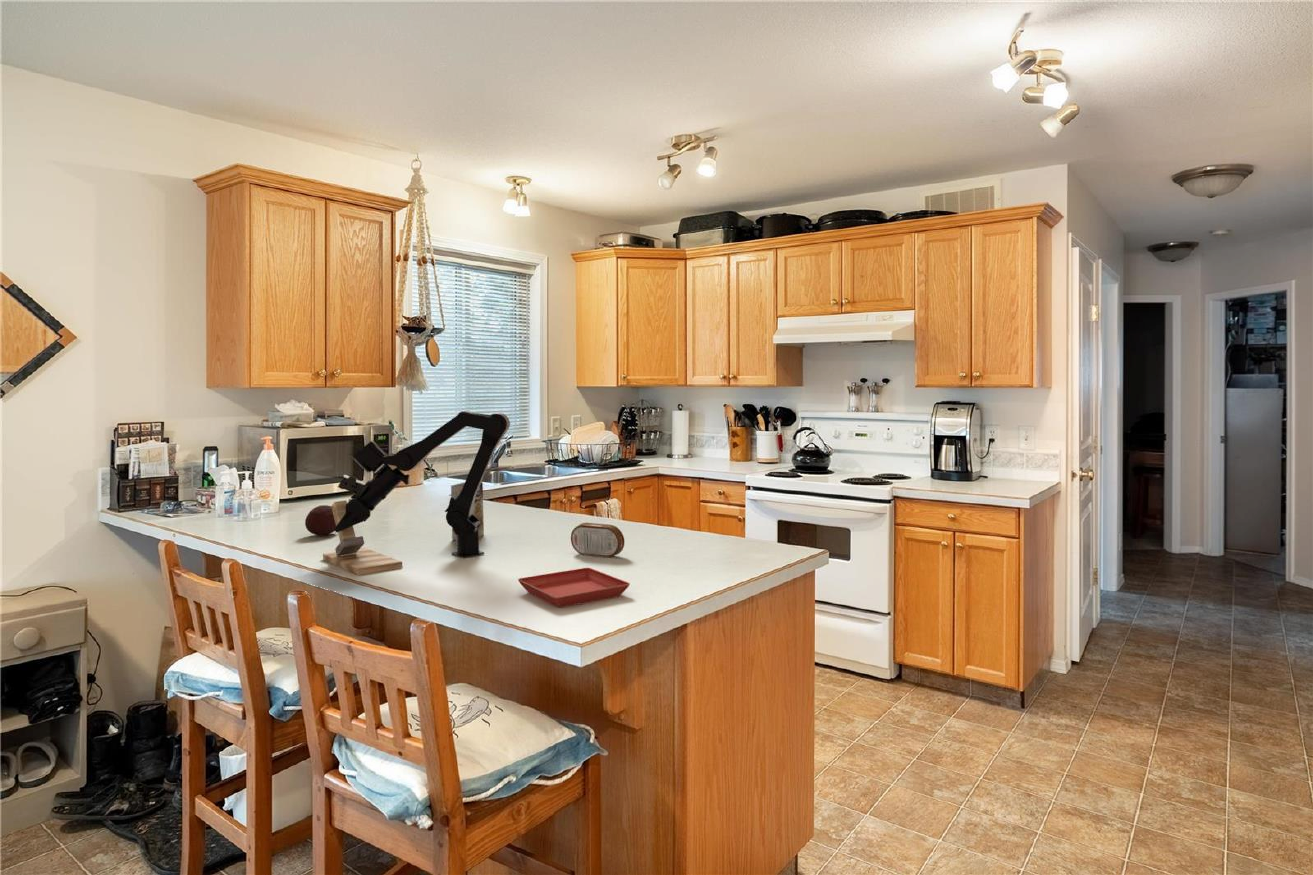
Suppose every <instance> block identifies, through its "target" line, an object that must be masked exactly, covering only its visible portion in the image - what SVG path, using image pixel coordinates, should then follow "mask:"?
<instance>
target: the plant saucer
mask: <svg viewBox="0 0 1313 875" xmlns="http://www.w3.org/2000/svg"><path fill="white" fill-rule="evenodd" d="M517 581H518V582H519V584H520V585H521V586H522V587H523V589H524V590H526V591H527V593H529V594H530V595H532V596H534V597H536V598H538V599H540V600H542V601H544V602H546V603H548V604H551V606H554V607H557V608H565V607H571V606H574V605H575V606H576V605H580V604H585V603H591V602H595V601H600V600H606V599H612V598H616V597H617V598H618V597H620V596H622V594H623V593H624V592H625V591H626V590H627V589H628V588H629V587H630V585H631V583H630V582H628V581H625V580H622V579H619V578H618V577H616V576H612V575H610V574H606V573H604V572H602V571H599V570H597V569H593V568H591V567H582V568H576V569H570V570H564V571H558V572H552V573H546V574H545V573H544V574H538V575H532V576H526V577H520V578H517Z"/></svg>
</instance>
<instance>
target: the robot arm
mask: <svg viewBox="0 0 1313 875" xmlns="http://www.w3.org/2000/svg"><path fill="white" fill-rule="evenodd" d="M510 426H511V421H510V418H509V416H507V415H506V414H504V413H502V412H495V413H492V414H486V413H485V414H484V413H479V412H471V411H468V410H462V411H460V412H458V413H457V415H455V416H454V417H453V418H451V419H450V420H449V421H447V422H446V423H444V424H442V426H440V427H439V428H437V429H436V430H434V431H433V432H432V433H430V434H429V435H427V436H426V437H424V438H423V439H422V440H420V441H417V442H415V443H413V444H411V445H409V446H407V447H405V448H402V449H400V450H398V451H397V452H396V453H389V454H387V453H386V452H384V450H383V449H382V448H381V447H379V445H378V444H377V443H376V442H375V441H374V440H371V441H369V442H368V443H367V444H366V445H364V446H363V447H362V448H360V449H358V450H357V451H356V452H355V454H354V455H353V456H352V460H354V461H355V463H357V464H358V465H359V466H360V467H361V468H362V469H363V470H364V471H365V472H366V473H368V474H369V473H373V474H376V473H377V472H378V471H379V472H378V473H377V474H376V475H375V476H374V477H373V478H371V479H370V480H367V481H366V482H364V481H361V480H359V479H357V477H354V476H352V475H350V476H349V475H347V474H343V475H342V477H341V480H340V481H339V484H338V486H337V488H339V489H341V490H345V491H348V492H349V493H353V494H352V495H351V496H350V498H349V499H348V501H347V504H346V506H345V508H346V513H345V515H344V516H343V517H342V519H341V520H340V522H339V523H338V524H337V526H336V527H335V529H334V532H335V533H338V532H339V531H342V530H344V529H346V528H349V527H351V526H353V527H354V526H355V525H358V524H360V523H364V522H366V521H367V520H368V519H369V518H371V515H372V513H371V512H372V511H374V510H375V508H376V507H377V506H378V505H379V504H380V503H381V502H382V501H383V500H385V499H386V498H387V496H388V495H389V494H390V493H391V492H393V490H394V489H395V488H396V487H397V486H398V485H399V484H401V482H402V483H403V484H404V485H405V486H408V485H409V486H410V484H411V482H410V478H411V475H410V474H405V473H404V472H410V471H412V470H414V469H416V468H418V467H419V466H420V465H421V464H422V463H423V462H424V461H425V460H426V459H427V457H428V456H429V455H430V454H431V453H432V452H433V451H434V450H435V449H437V448H438V447H440V445H441V446H442V444H444V443H445V442H447V441H448V440H450V439H451V438H452V437H454V436H455V435H457V434H458V433H459V432H461V431H462V430H464V429H465V428H467V427H468V428H473V429H478V430H482V436H481V441H480V446H479V447H478V450H477V453H476V455H475V458H474V460H473V462H472V465H471V466H470V470H469V472H468V473H467V474H468V475H467V477H466V479H465V482H464V483H465V484H464V486H463V488H462V491H461V493H460V494H459V495H458V496H457V495H456V494H455V495H454V496H452V497H451V496H450V498H449V502H448V506H447V508H446V509H445V510H444V513H445V514H446V515H445V520H446V523H447V524H448V526H450V527H451V528H452V527H453V530H454V532H455V534H456V540H455V541H456V551H452V552H451V555H453V556H456V557H458V558H462V559H463V558H470V557H471V558H472V557H475V556H480V555H481V556H482V555H485V552H484V551H481V550H480V541H479V538H480V537H479V534H478V530H477V529H478V528H479V526H480V523H481V521H480V520H479V519H478V518H476V517H475V516H474V515H473V514H472V513H473V509H474V504H475V496H476V493H477V491H478V489H479V486H480V484H481V482H482V481H483V480H484V476H485V474H486V471H487V469H488V467H489V464H490V463H491V460H492V457H493V455H494V452H495V450H496V448H497V447H498V445H499V444H500V442H501V441H502V440H503V438H504V437H505V435H506V433H507V432H508V430H509V428H510ZM392 466H394V467H395V468H393V467H392Z"/></svg>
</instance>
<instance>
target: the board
mask: <svg viewBox="0 0 1313 875" xmlns="http://www.w3.org/2000/svg"><path fill="white" fill-rule="evenodd" d="M323 559H324V560H323ZM322 560H323V561H325V560H326V562H328V563H330V564H332V563H333V564H332V565H334V564H335V566H337V567H339V568H342V569H343V570H345V571H348V572H350V573H352V574H355V575H356V576H361V575H368V574H372V573H373V574H375V573H379V572H386V571H390V570H396V569H402V568H403V561H401V560H399V559H396V558H393V557H390V556H388V555H385V554H382V553H380V552H377V551H375V550H372V549H369V548H367V547H361V548H360V549H359V550H358V551H357V553H353V554H347V555H341V556H337V555H336V551H332V552H325V553H322Z"/></svg>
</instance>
